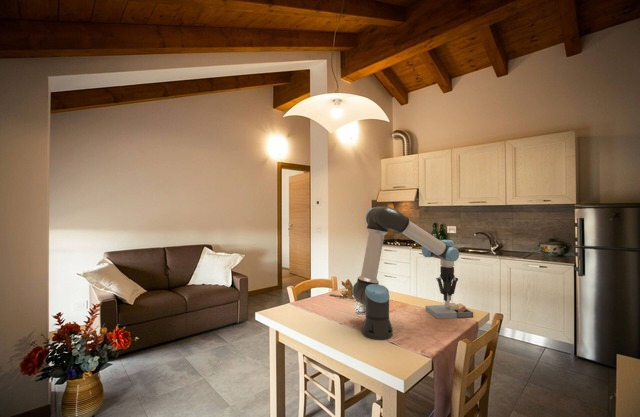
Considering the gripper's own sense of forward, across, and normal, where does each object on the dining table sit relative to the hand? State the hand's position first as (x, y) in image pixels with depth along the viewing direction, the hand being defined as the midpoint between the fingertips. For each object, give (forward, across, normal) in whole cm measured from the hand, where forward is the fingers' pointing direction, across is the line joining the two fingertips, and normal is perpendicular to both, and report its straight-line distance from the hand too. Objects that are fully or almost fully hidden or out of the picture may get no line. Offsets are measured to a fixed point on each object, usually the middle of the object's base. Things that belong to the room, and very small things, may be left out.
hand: (447, 306), depth 179 cm
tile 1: (+2, -3, 0) cm, 4 cm away
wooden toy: (+5, +55, -40) cm, 68 cm away
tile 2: (+1, -7, 0) cm, 7 cm away
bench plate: (+5, +4, 0) cm, 6 cm away
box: (+5, -7, 0) cm, 8 cm away
